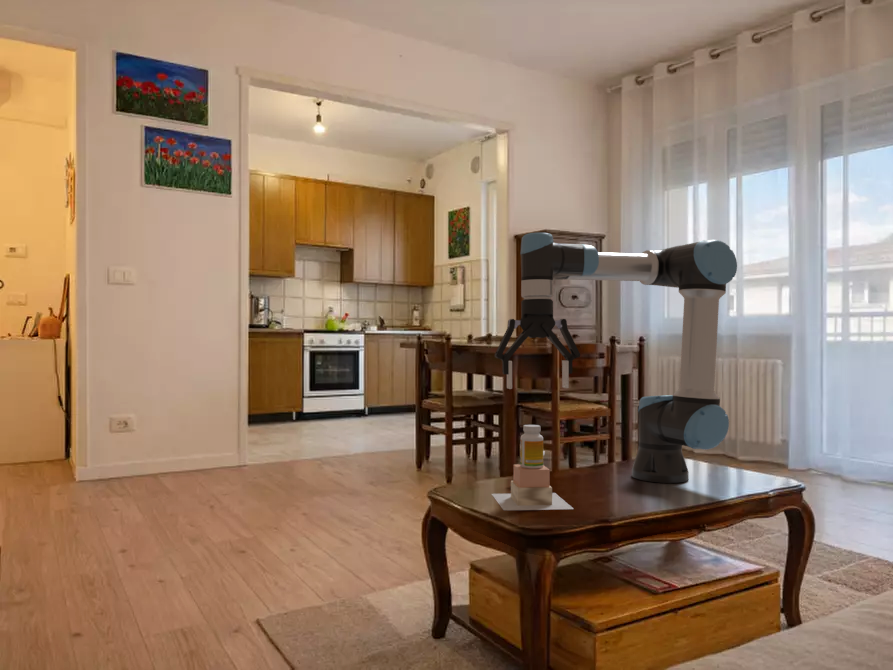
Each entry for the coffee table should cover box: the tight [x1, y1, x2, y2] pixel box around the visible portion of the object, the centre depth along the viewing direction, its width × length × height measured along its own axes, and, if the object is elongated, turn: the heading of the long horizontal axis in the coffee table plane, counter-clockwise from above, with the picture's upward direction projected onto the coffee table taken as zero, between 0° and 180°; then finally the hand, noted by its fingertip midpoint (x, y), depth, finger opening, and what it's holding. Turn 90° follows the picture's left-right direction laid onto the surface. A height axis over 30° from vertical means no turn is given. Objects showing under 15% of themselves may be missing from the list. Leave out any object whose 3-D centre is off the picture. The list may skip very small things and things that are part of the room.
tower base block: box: [510, 480, 553, 506], centre depth 157 cm, size 8×8×4 cm
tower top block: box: [512, 463, 551, 487], centre depth 157 cm, size 7×7×4 cm
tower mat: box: [491, 492, 575, 511], centre depth 157 cm, size 16×16×1 cm
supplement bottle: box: [519, 424, 544, 469], centre depth 158 cm, size 5×5×10 cm
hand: (537, 388), depth 159 cm, fingers open, 13 cm apart
